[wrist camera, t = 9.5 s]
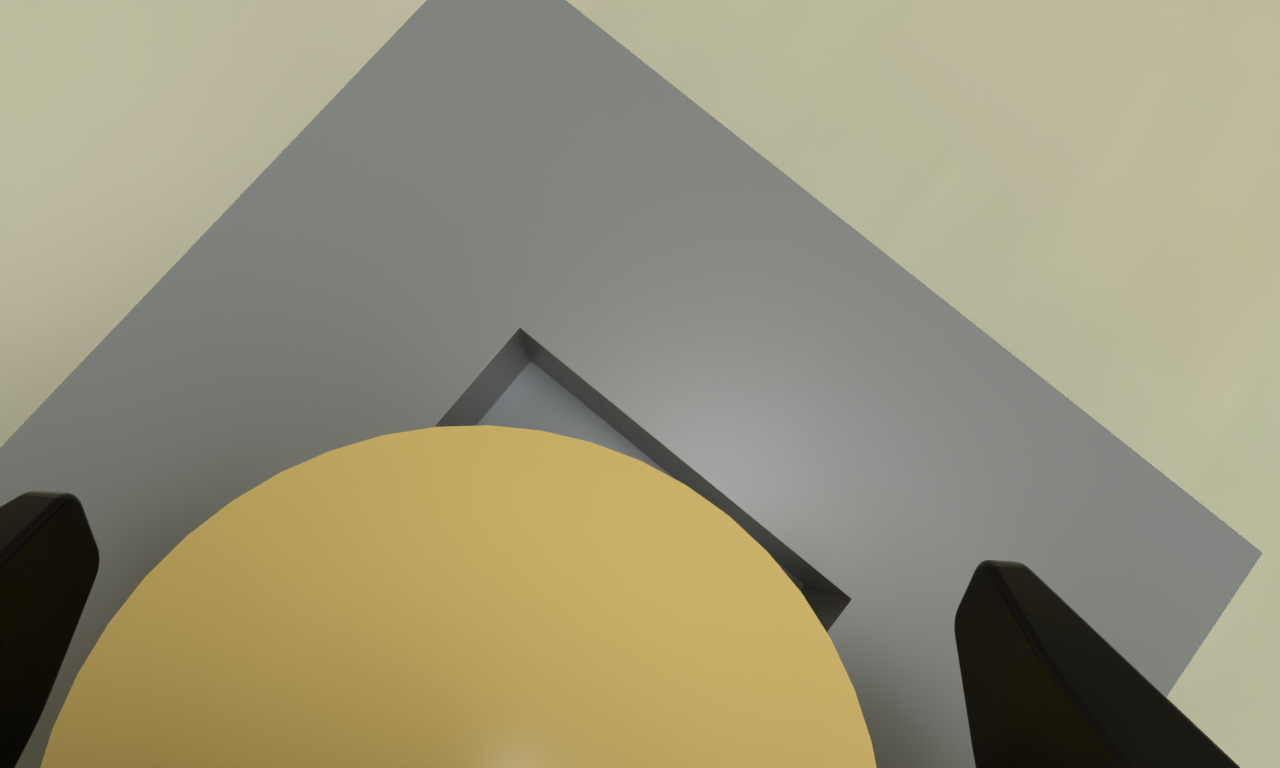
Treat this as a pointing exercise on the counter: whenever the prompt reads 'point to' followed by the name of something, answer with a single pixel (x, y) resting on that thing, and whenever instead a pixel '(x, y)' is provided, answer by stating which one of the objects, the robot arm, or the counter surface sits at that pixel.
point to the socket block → (618, 363)
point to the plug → (465, 625)
